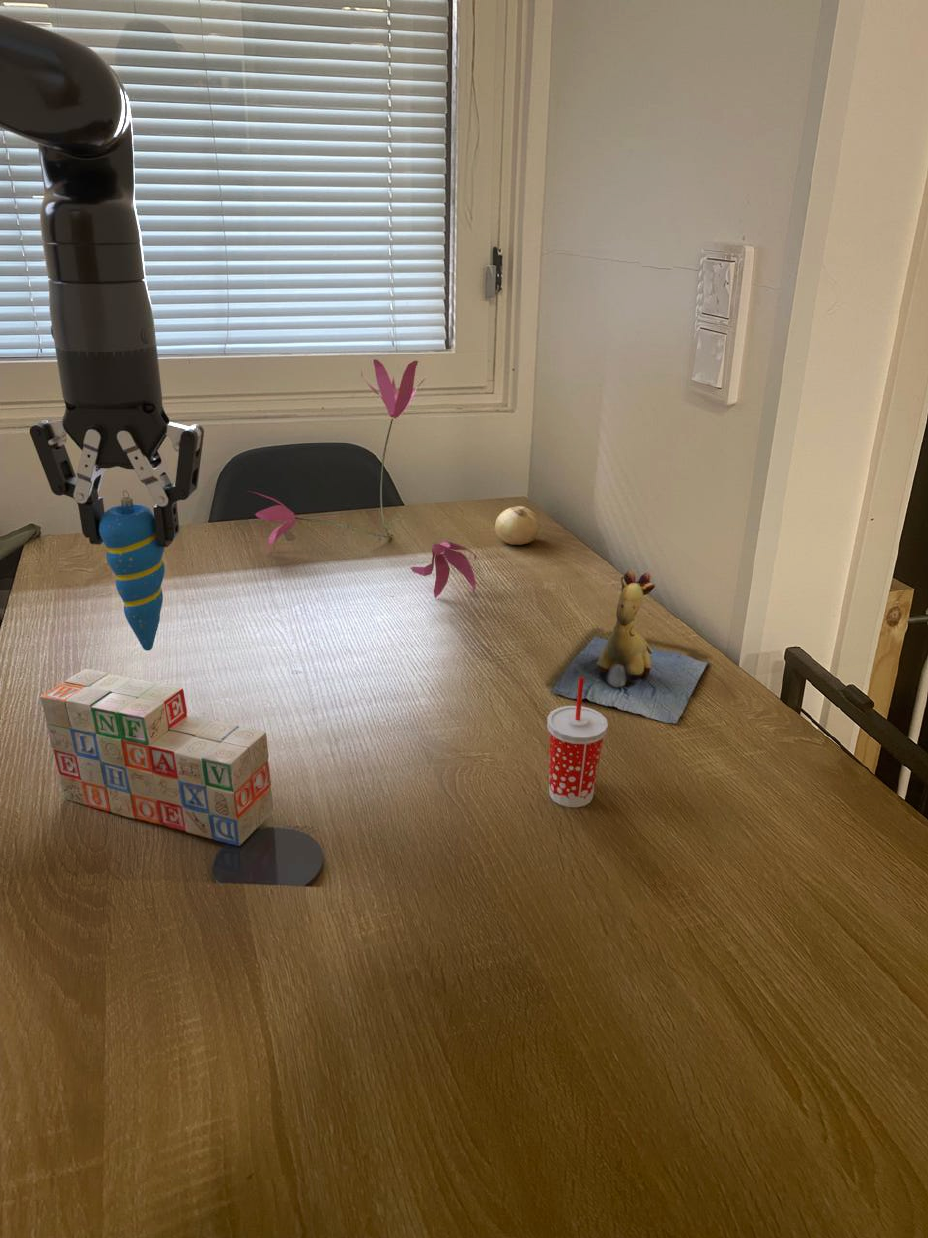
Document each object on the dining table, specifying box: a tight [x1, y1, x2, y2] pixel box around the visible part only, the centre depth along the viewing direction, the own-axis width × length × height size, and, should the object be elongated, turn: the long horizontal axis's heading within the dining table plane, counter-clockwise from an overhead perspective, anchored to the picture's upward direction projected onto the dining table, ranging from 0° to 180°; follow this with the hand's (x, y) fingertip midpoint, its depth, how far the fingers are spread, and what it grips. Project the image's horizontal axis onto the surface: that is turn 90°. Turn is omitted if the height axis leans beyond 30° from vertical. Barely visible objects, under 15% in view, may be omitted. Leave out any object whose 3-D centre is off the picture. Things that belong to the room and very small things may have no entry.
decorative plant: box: [246, 359, 477, 599], centre depth 149 cm, size 38×42×30 cm
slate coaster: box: [212, 826, 324, 887], centre depth 84 cm, size 10×10×1 cm
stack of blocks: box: [39, 668, 274, 846], centre depth 89 cm, size 21×6×12 cm, turn 69°
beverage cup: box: [546, 676, 609, 808], centre depth 93 cm, size 6×6×14 cm
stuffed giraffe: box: [550, 571, 708, 724], centre depth 116 cm, size 16×18×16 cm
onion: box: [494, 505, 540, 546], centre depth 163 cm, size 8×8×7 cm
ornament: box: [99, 490, 166, 652], centre depth 80 cm, size 5×5×15 cm
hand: (132, 542), depth 79 cm, fingers closed on ornament, 5 cm apart
